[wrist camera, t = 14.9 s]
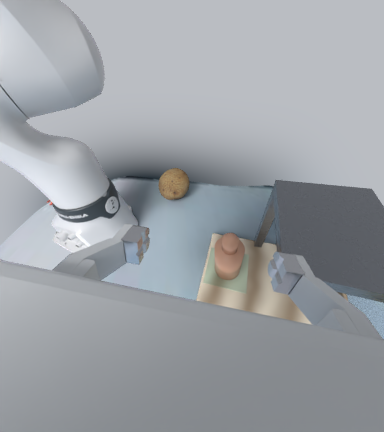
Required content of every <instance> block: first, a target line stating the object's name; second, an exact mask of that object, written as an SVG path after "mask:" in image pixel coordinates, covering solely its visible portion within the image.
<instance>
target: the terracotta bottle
mask: <svg viewBox="0 0 384 432" xmlns="http://www.w3.org/2000/svg"><path fill="white" fill-rule="evenodd" d="M244 253H245V247H244V244H243V243H242V242H241V241H240V240H239V238H238V236H237V235H235V234H233V233H227V234H225V235H224V236H223V237H221V238H220V239H218V240H217V241H216V243H215V272H216V274H217V275H218V276H219V277H220V278H222V279H224V280H232V279H235V278H236V277H237V276H238V275H239V272H240V268H241V264H242V261H243V257H244Z"/></svg>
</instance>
